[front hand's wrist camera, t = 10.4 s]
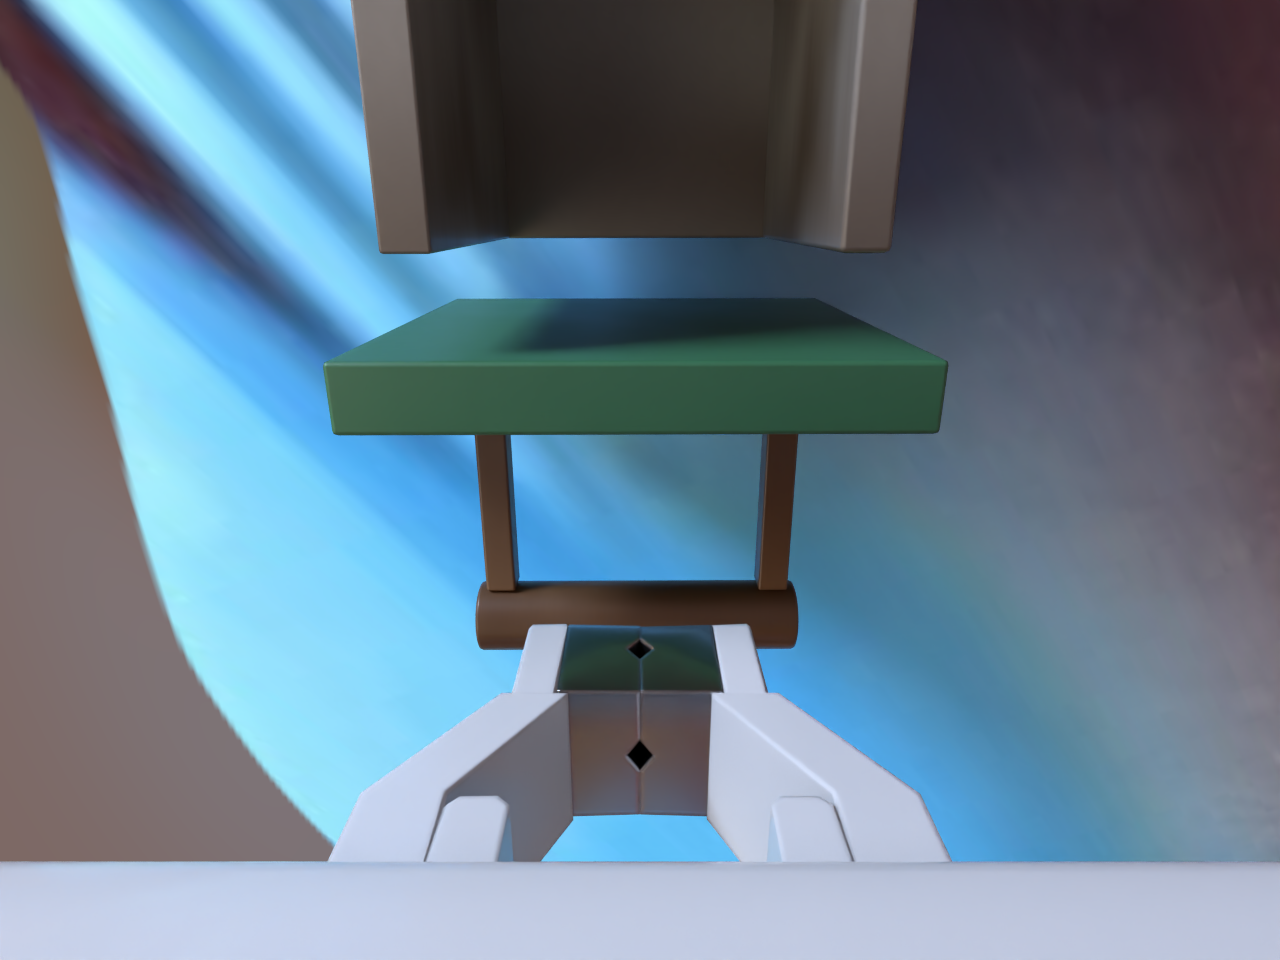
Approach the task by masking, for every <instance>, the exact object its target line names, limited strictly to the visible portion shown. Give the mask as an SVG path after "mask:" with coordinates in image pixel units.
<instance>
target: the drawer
mask: <svg viewBox="0 0 1280 960" xmlns="http://www.w3.org/2000/svg"><path fill="white" fill-rule="evenodd" d="M917 1H918V0H351V8H352V16H353V25H354V34H355V43H356V51H357V60H358V69H359V78H360V86H361V95H362V104H363V113H364V121H365V130H366V139H367V148H368V157H369V165H370V174H371V183H372V192H373V200H374V209H375V218H376V227H377V235H378V244H379V251H380V253H382V254H430V253H435V252H440V251H445V250H451V249H456V248H461V247H466V246H471V245H476V244H481V243H486V242H491V241H496V240H501V239H506V238H770V239H775V240H780V241H785V242H791V243H796V244H801V245H806V246H811V247H817V248H822V249H827V250H832V251H837V252H843V253H885V252H887V251H889V250H890V248H891V244H892V235H893V226H894V216H895V207H896V198H897V188H898V179H899V170H900V160H901V151H902V142H903V132H904V123H905V114H906V104H907V95H908V85H909V76H910V67H911V57H912V48H913V39H914V29H915V20H916V11H917ZM323 370H324V376H325V383H326V390H327V397H328V404H329V411H330V418H331V425H332V431H333V433H334V434H336V435H475V445H476V458H477V470H478V483H479V496H480V508H481V521H482V533H483V546H484V559H485V571H486V581H485V582H483V583H482V584H481V586H480V589H479V592H478V597H477V604H476V636H477V641H478V644H479V647H480V648H481V649H483V650H523V649H524V645H525V641H526V638H527V634H528V630H529V628H530V627H531V626H532V625H537V624H567V625H568V626H569V625H617V626H640V627H649V626H689V625H728V624H748V625H749V626H750V627H751V631H752V635H753V638H754V642H755V646H756V649H791V648H793V647H794V646H795V644H796V640H797V635H798V604H797V597H796V592H795V589H794V586H793V584H792V582H791V581H789V580H788V567H789V554H790V540H791V526H792V512H793V499H794V485H795V471H796V457H797V444H798V434H934V433H937V432H938V431H939V429H940V422H941V415H942V408H943V401H944V393H945V386H946V379H947V372H948V362H947V361H945V360H943V359H941V358H939V357H937V356H935V355H933V354H931V353H929V352H927V351H924V350H922V349H920V348H918V347H916V346H914V345H912V344H910V343H908V342H906V341H904V340H901V339H899V338H897V337H895V336H893V335H891V334H889V333H887V332H885V331H883V330H880V329H878V328H876V327H874V326H872V325H870V324H868V323H866V322H864V321H862V320H860V319H857V318H855V317H853V316H851V315H849V314H847V313H845V312H843V311H841V310H839V309H837V308H834V307H832V306H830V305H828V304H826V303H824V302H822V301H820V300H818V299H815V298H678V299H456V300H454V301H452V302H450V303H448V304H446V305H444V306H441V307H439V308H437V309H435V310H433V311H431V312H429V313H427V314H425V315H423V316H421V317H419V318H416V319H414V320H412V321H410V322H408V323H406V324H404V325H402V326H400V327H398V328H396V329H394V330H391V331H389V332H387V333H385V334H383V335H381V336H379V337H377V338H375V339H373V340H371V341H369V342H367V343H364V344H362V345H360V346H358V347H356V348H354V349H352V350H350V351H348V352H346V353H344V354H342V355H339V356H337V357H335V358H333V359H331V360H329V361H327V362H325V363H324V365H323ZM635 434H762V450H761V468H760V486H759V503H758V521H757V539H756V557H755V575H754V577H755V580H668V581H518V580H519V563H518V547H517V531H516V515H515V499H514V483H513V467H512V451H511V435H635Z"/></svg>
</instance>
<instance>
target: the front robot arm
mask: <svg viewBox="0 0 1280 960" xmlns="http://www.w3.org/2000/svg"><path fill="white" fill-rule="evenodd" d="M630 814H648V815H684V816H707V820H708V821H709V822H710V824H711V825H712V826H713V828H714V829H715V830H716V831H717V833H718V834H719V835H720V836H721V838H722V839H723V840H724V842H725V843H726V844H727V845H728V847H729V848H730V849H731V851H732V852H733V853H734V854H735V856H736V857H737V858H738V859H739V861H740V862H540V861H541V860H542V859H543V857H544V856H545V855H546V854H547V852H548V851H549V850H550V849H551V847H552V846H553V845H554V844H555V842H556V841H557V840H558V838H559V837H560V836H561V835H562V833H563V832H564V831H565V830H566V828H567V827H568V826H569V824H570V823H571V822H572V821H573V816H595V815H630ZM0 960H1280V862H952V860H951V858H950V856H949V854H948V851H947V849H946V847H945V845H944V843H943V841H942V839H941V837H940V835H939V833H938V830H937V828H936V826H935V824H934V822H933V820H932V818H931V816H930V814H929V812H928V809H927V807H926V805H925V803H924V801H923V799H922V797H921V795H920V794H919V793H918V792H917V791H915V790H914V789H912V788H911V787H910V786H908V785H907V784H905V783H904V782H903V781H901V780H900V779H898V778H897V777H896V776H894V775H893V774H891V773H890V772H889V771H887V770H886V769H884V768H883V767H882V766H880V765H879V764H877V763H876V762H875V761H873V760H872V759H870V758H869V757H868V756H866V755H865V754H863V753H862V752H861V751H859V750H858V749H856V748H855V747H854V746H852V745H851V744H849V743H848V742H847V741H845V740H844V739H842V738H841V737H840V736H838V735H837V734H835V733H834V732H833V731H831V730H830V729H828V728H827V727H826V726H824V725H823V724H821V723H820V722H819V721H817V720H816V719H814V718H813V717H812V716H810V715H809V714H807V713H806V712H805V711H803V710H802V709H800V708H799V707H797V706H796V705H795V704H793V703H792V702H790V701H789V700H788V699H786V698H785V697H783V696H782V695H781V694H779V693H768V690H767V687H766V683H765V679H764V676H763V672H762V668H761V664H760V661H759V657H758V653H757V650H756V646H755V642H754V638H753V635H752V631H751V627H750V626H749V625H748V624H728V625H689V626H649V627H640V626H617V625H569V626H568V625H567V624H537V625H532V626H531V627H530V628H529V630H528V634H527V638H526V641H525V645H524V649H523V653H522V656H521V660H520V664H519V668H518V672H517V675H516V679H515V683H514V687H513V690H512V693H501V694H499V695H498V696H497V697H495V698H494V699H492V700H491V701H490V702H488V703H487V704H485V705H484V706H482V707H481V708H480V709H478V710H477V711H475V712H474V713H473V714H471V715H470V716H468V717H467V718H466V719H464V720H463V721H461V722H460V723H459V724H457V725H456V726H454V727H453V728H451V729H450V730H449V731H447V732H446V733H444V734H443V735H442V736H440V737H439V738H437V739H436V740H435V741H433V742H432V743H430V744H429V745H428V746H426V747H425V748H423V749H422V750H420V751H419V752H418V753H416V754H415V755H413V756H412V757H411V758H409V759H408V760H406V761H405V762H404V763H402V764H401V765H399V766H398V767H397V768H395V769H394V770H392V771H391V772H390V773H388V774H387V775H385V776H384V777H382V778H381V779H380V780H378V781H377V782H375V783H374V784H373V785H371V786H370V787H368V788H367V789H366V790H364V791H363V792H361V794H360V796H359V798H358V800H357V802H356V804H355V806H354V808H353V810H352V812H351V814H350V816H349V818H348V820H347V823H346V825H345V827H344V829H343V831H342V833H341V835H340V837H339V839H338V841H337V843H336V845H335V847H334V849H333V852H332V854H331V856H330V858H329V860H328V862H0Z"/></svg>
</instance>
